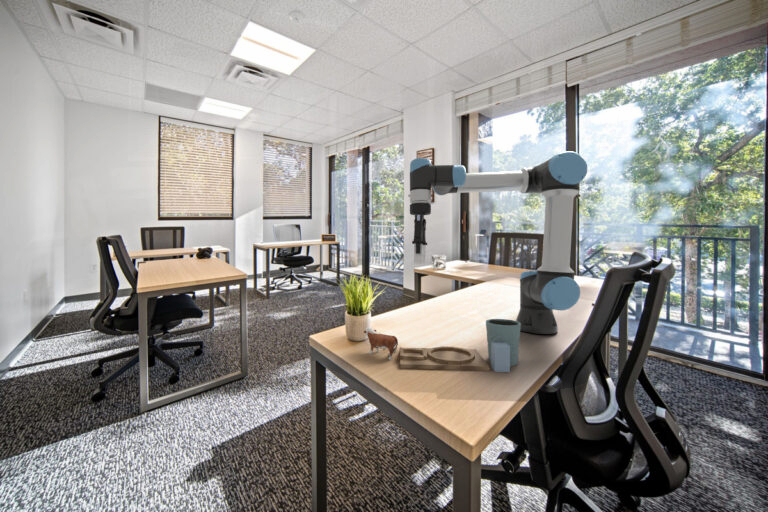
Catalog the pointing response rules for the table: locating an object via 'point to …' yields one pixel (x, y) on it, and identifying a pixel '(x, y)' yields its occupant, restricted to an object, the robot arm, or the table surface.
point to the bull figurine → (381, 341)
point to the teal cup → (504, 336)
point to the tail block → (500, 357)
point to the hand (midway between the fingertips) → (420, 263)
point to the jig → (442, 358)
